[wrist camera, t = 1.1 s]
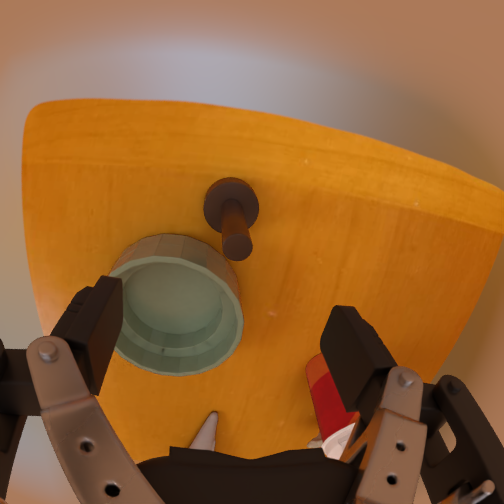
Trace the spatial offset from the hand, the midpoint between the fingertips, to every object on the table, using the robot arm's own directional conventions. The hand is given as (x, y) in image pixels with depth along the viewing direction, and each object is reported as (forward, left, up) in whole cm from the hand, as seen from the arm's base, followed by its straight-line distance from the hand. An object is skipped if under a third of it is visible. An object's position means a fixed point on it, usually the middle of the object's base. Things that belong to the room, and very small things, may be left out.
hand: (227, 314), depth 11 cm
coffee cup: (+30, 0, -21) cm, 36 cm away
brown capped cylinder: (+2, 0, -21) cm, 21 cm away
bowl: (+8, -11, -21) cm, 25 cm away
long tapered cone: (+36, -27, -21) cm, 49 cm away
